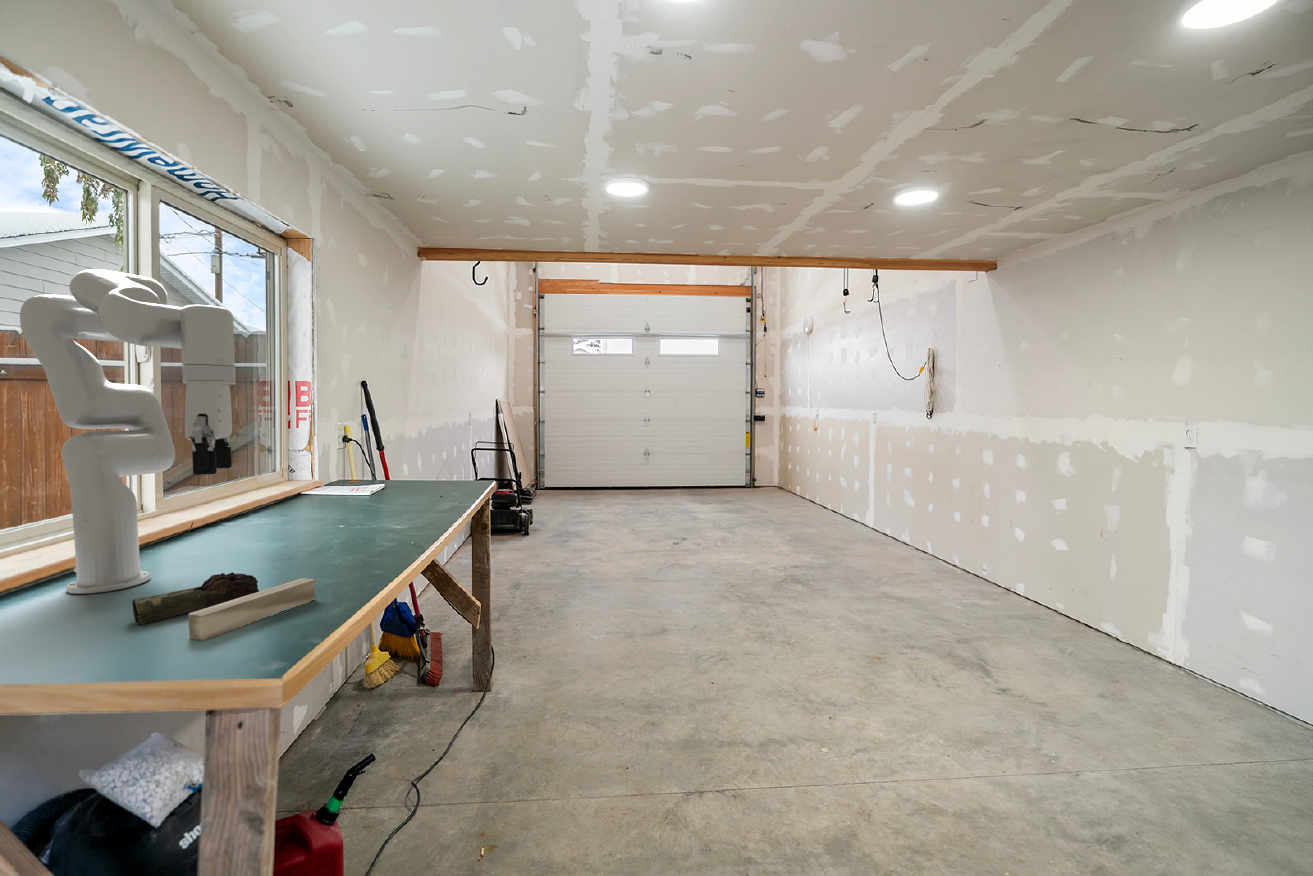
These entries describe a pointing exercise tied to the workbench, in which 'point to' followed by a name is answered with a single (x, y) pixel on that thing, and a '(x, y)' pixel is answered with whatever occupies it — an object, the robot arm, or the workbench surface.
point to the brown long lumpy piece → (194, 597)
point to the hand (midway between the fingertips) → (213, 471)
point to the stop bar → (249, 608)
